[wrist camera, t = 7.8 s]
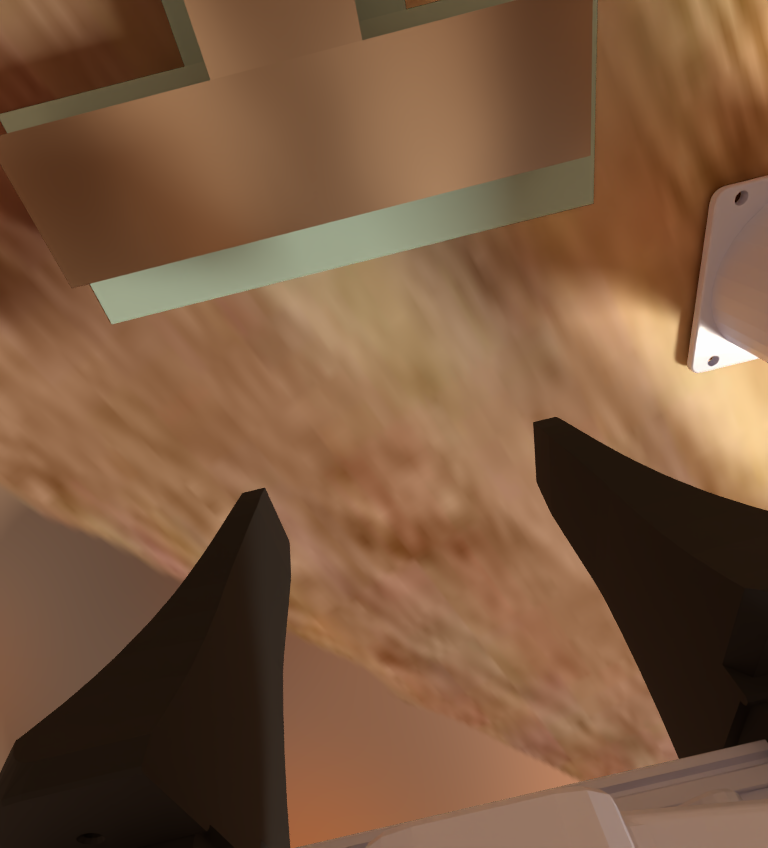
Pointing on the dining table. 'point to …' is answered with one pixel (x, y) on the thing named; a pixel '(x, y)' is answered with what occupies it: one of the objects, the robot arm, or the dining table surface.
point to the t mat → (334, 240)
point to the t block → (305, 129)
